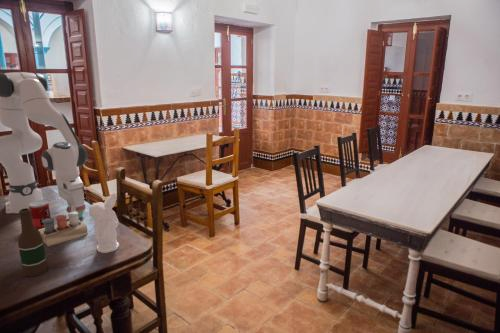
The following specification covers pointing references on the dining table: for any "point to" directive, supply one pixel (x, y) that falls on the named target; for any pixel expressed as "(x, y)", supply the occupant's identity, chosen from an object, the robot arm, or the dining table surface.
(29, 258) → the beer bottle
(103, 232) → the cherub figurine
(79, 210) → the cupcake
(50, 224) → the graphite plug
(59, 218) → the red plug
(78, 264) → the dining table surface
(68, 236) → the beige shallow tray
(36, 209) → the canned food
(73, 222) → the white rounded piece
